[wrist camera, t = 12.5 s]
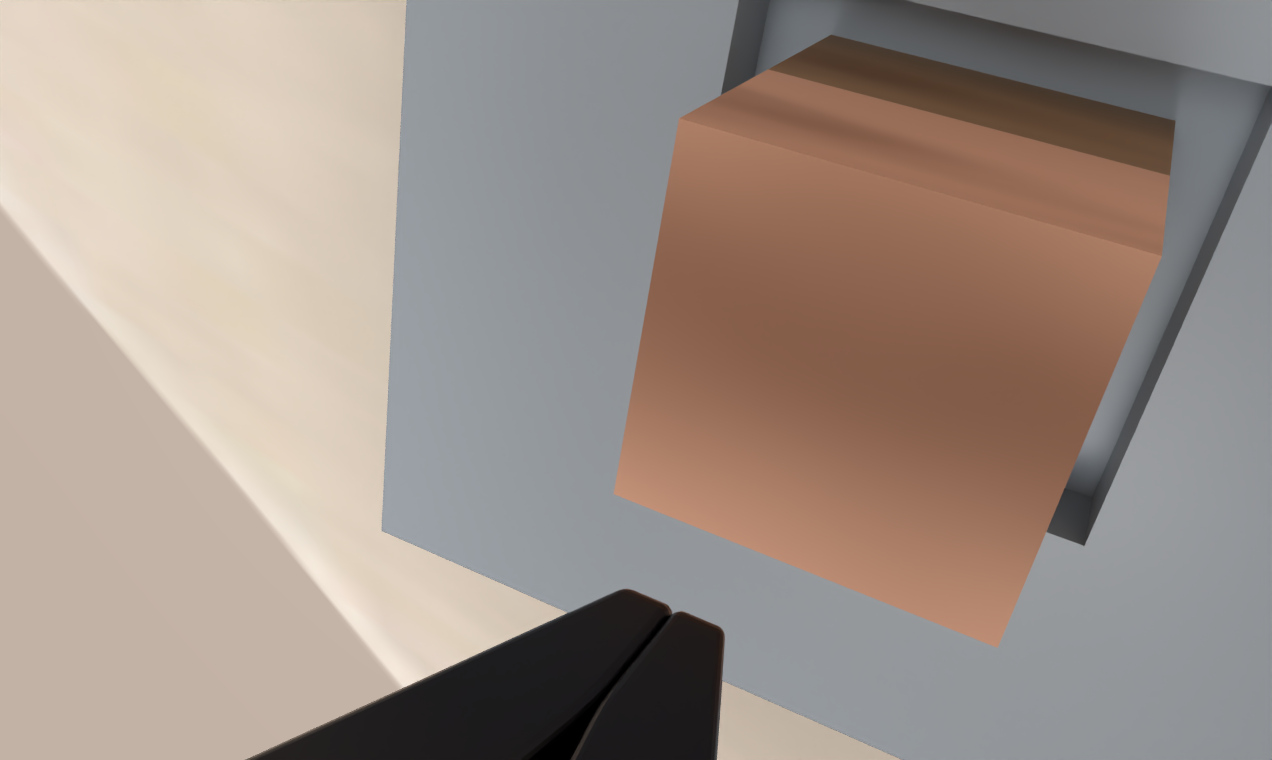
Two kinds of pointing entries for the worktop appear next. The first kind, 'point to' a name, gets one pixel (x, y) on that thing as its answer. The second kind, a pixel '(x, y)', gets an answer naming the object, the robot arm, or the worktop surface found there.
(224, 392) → the worktop surface
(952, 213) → the brown block
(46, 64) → the worktop surface
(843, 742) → the worktop surface
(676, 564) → the socket board
